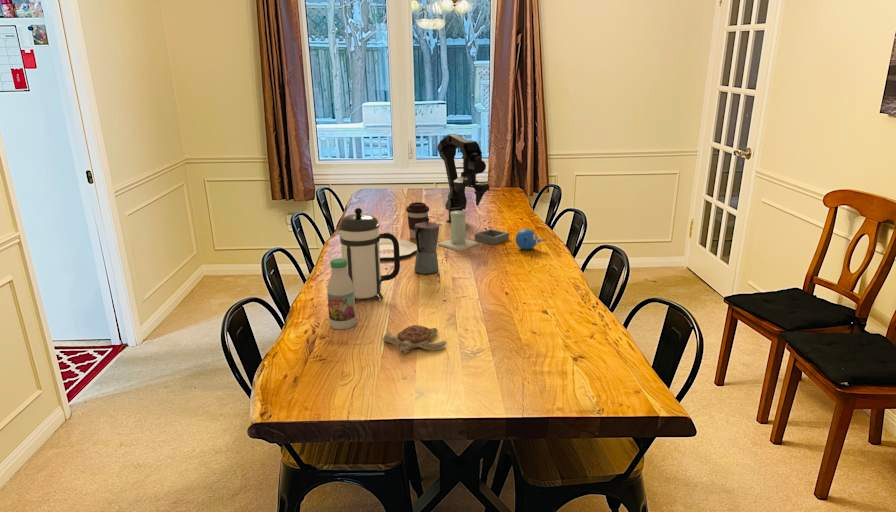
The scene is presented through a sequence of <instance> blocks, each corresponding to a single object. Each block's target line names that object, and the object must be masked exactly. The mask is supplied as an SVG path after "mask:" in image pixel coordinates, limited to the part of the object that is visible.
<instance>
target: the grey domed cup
mask: <svg viewBox="0 0 896 512" xmlns="http://www.w3.org/2000/svg"><path fill="white" fill-rule="evenodd" d="M450 215H451V223H450V230H451V232H450V234H451V235H450V237H451V238H450V239H451V243H452V244H456V245H461V244H465V243H466V239H467V238H466V231H467V229H466V226H467V225H466V224H467V223H466V222H467V221H466V219H467V217H466V215H467V211H465V210H463V211H452V212H450Z"/></svg>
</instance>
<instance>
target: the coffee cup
mask: <svg viewBox="0 0 896 512" xmlns="http://www.w3.org/2000/svg"><path fill="white" fill-rule="evenodd" d="M405 210H406V212H407V222H408V230H409V237H410V238H411V239H412V240H413V239H414V240H416V235H415V224H417V223H422V222H426V220H425V218H429V215H428V214H429V213H428V212H429V211H430V207H429V205H426V202H421V201H420V202H419V201H418V202H417V201H416V202H410V204H409V205H408V206H407V207H406V209H405Z"/></svg>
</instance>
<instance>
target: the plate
mask: <svg viewBox="0 0 896 512" xmlns="http://www.w3.org/2000/svg"><path fill="white" fill-rule="evenodd" d="M396 239H397V240H398V243H399V253H400V258H402V257H403V258H404V257H407V256H409V255H411V254H412V253H414V252H417V251H418V250H417V244H416V242H415V243H414V242H411V241H410V240H407V239H400V238H396ZM379 250H380V251H383V250H392V251H393V252H391V253H382V252H380V260H394V247H393V242H392V241H391V240H390V239H385V238H382V239H380V241H379Z"/></svg>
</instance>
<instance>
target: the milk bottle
mask: <svg viewBox="0 0 896 512" xmlns="http://www.w3.org/2000/svg"><path fill="white" fill-rule="evenodd" d="M329 266H330V269H331V274H330V277H329V279H328V282H327V289H326V290H327V292H326V293H327V307H328V309H327V310H328V318H329V319H328V320H329V322H328V323H329V326H330V327H331V328H332V329H335V330H348V329H351V328H353V327H355V325H356V324H357V311H356V300H355V296H354V287H353V283H352V281H351V279H350V277H349V275H348V273H347V269H346V268H347V261H346V259H342V257H339V258H334V259H331V260H330V265H329Z"/></svg>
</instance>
